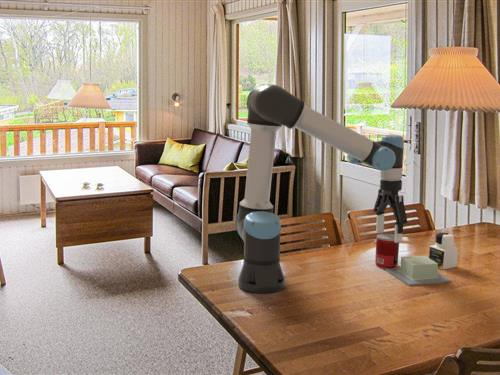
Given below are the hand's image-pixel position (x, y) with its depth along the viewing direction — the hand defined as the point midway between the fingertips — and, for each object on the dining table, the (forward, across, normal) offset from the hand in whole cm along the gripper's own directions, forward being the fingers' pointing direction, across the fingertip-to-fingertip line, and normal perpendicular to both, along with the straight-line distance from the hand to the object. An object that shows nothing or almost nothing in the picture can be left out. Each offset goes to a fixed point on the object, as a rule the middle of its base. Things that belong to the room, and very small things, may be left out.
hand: (388, 237), depth 211 cm
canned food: (+11, 0, 0) cm, 11 cm away
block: (+10, -13, -5) cm, 17 cm away
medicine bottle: (+11, -5, -20) cm, 23 cm away
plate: (+11, -13, -4) cm, 17 cm away
